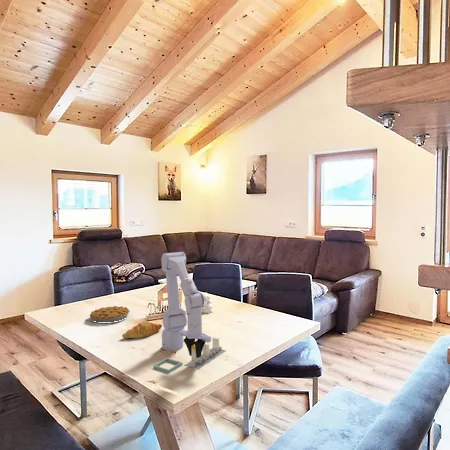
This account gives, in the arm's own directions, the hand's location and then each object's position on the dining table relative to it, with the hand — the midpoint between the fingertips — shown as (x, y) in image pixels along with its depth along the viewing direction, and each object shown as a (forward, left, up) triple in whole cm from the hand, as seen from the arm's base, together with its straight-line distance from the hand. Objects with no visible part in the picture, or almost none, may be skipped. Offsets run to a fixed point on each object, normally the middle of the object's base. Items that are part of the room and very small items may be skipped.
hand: (195, 355), depth 147 cm
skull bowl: (-42, +63, -5) cm, 76 cm away
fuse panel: (0, +7, -4) cm, 9 cm away
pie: (-80, +24, -5) cm, 84 cm away
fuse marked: (0, 0, -2) cm, 2 cm away
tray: (-8, -7, -4) cm, 12 cm away
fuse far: (0, +15, -4) cm, 15 cm away
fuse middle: (0, +7, -4) cm, 8 cm away
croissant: (-45, +15, -5) cm, 47 cm away
